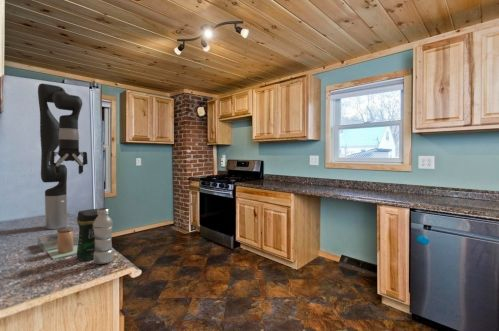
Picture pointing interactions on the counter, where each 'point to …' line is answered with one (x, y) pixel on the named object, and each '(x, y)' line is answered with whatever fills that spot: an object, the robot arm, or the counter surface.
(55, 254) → the mat
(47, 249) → the housing
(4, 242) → the counter surface
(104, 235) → the plastic bottle
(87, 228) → the coffee jar
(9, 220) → the counter surface
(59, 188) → the robot arm
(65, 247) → the tan rounded cylinder
